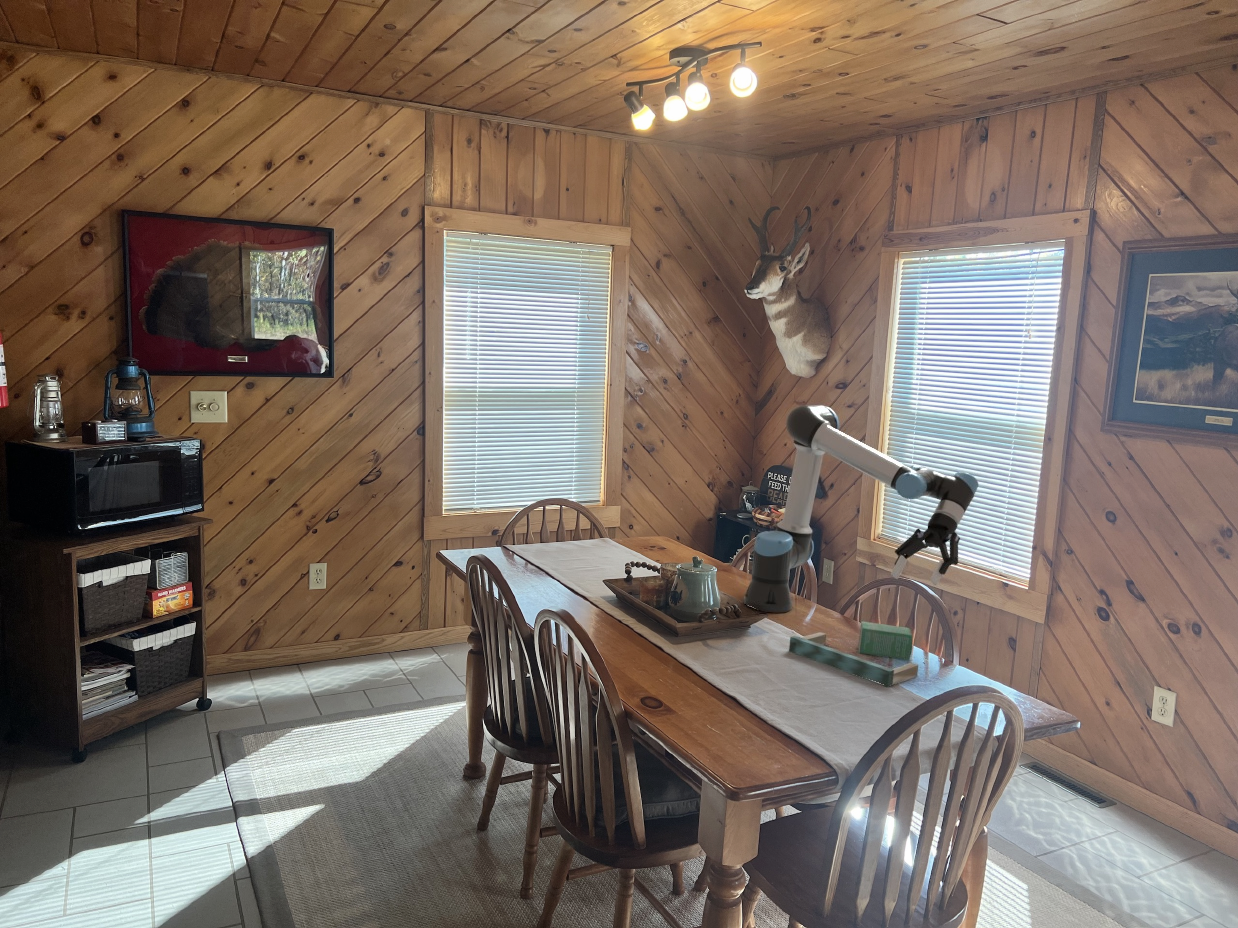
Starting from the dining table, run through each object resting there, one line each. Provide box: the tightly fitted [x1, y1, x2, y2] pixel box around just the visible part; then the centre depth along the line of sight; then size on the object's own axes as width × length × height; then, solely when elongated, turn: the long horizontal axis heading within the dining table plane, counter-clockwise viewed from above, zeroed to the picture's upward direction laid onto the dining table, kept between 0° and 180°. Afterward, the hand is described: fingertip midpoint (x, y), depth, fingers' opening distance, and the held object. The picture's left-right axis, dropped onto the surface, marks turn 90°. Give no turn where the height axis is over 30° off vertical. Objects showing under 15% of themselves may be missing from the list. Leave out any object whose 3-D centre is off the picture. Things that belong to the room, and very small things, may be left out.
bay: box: [788, 631, 919, 687], centre depth 231 cm, size 30×14×4 cm, turn 42°
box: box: [857, 621, 914, 661], centre depth 241 cm, size 7×14×8 cm, turn 78°
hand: (913, 579), depth 247 cm, fingers open, 13 cm apart
